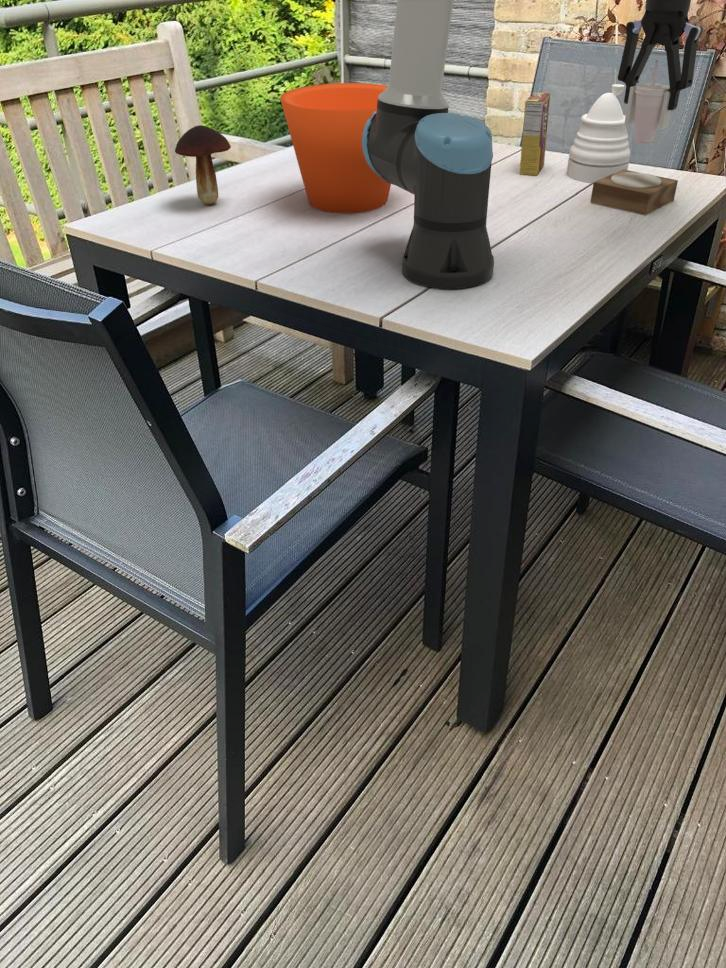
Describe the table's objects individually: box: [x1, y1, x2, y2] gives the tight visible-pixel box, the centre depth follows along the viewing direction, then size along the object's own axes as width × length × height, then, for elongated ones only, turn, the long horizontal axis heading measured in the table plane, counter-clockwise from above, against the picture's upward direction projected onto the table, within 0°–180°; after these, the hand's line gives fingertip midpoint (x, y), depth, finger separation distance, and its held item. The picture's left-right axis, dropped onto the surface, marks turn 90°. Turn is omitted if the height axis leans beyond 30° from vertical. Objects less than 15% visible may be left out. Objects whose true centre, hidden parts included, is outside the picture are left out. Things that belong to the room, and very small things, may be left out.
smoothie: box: [633, 59, 670, 144], centre depth 155 cm, size 6×6×14 cm
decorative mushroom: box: [174, 125, 232, 205], centre depth 164 cm, size 11×11×15 cm
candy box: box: [519, 92, 551, 177], centre depth 181 cm, size 9×4×15 cm, turn 160°
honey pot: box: [566, 83, 631, 184], centre depth 176 cm, size 13×13×18 cm
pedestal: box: [590, 169, 679, 216], centre depth 165 cm, size 12×12×4 cm
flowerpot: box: [279, 82, 392, 214], centre depth 163 cm, size 25×25×20 cm
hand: (646, 125), depth 158 cm, fingers closed on smoothie, 6 cm apart
